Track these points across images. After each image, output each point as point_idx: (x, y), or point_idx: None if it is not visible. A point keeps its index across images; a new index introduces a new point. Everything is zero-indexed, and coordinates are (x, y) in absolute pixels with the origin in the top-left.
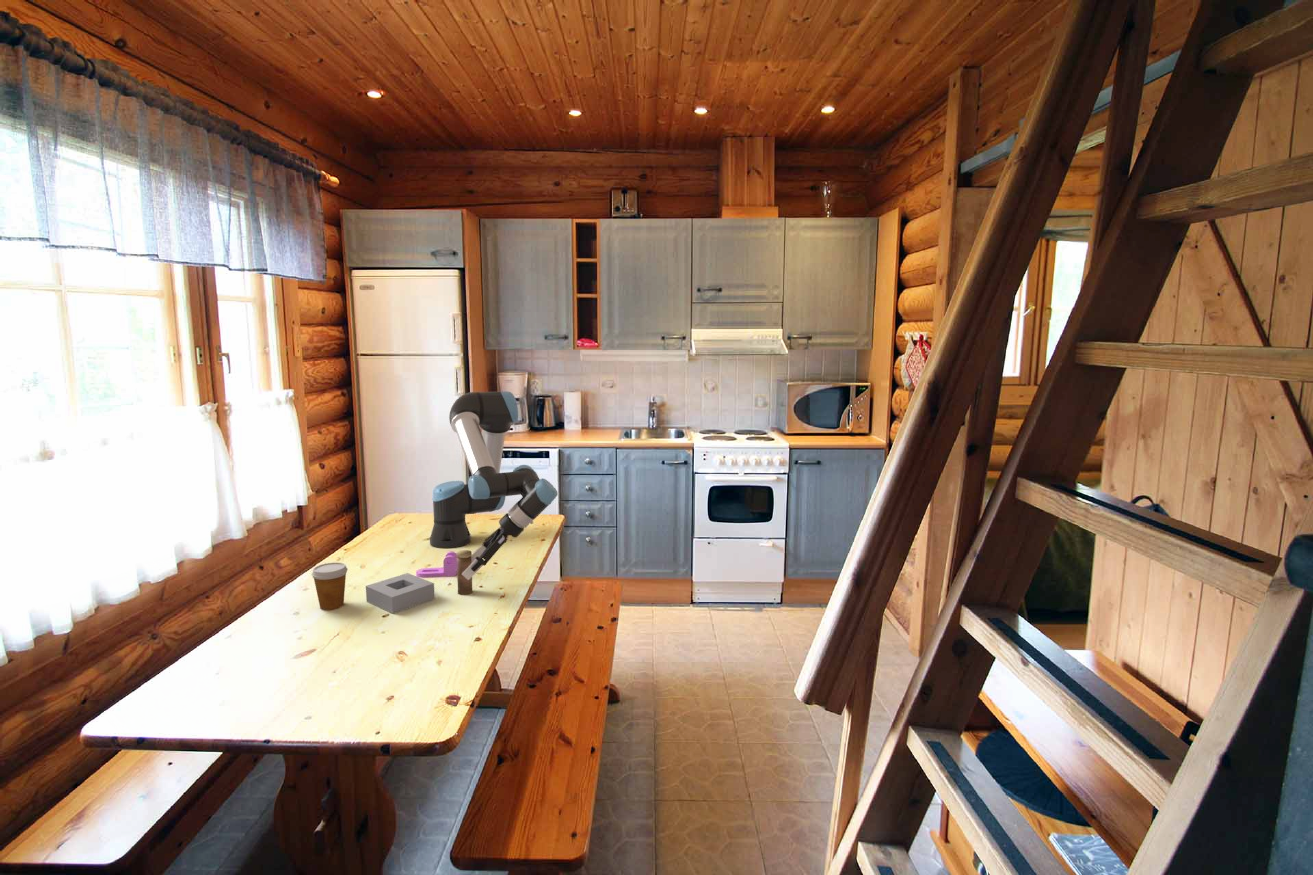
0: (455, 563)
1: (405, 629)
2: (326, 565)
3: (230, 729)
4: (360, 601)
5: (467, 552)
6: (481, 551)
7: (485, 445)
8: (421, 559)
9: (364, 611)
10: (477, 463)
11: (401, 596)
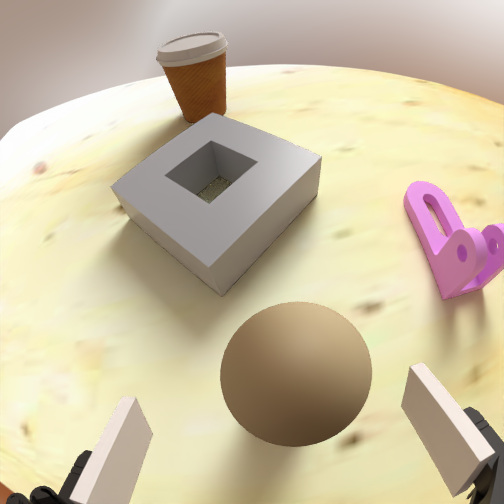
0: (473, 277)
1: (43, 275)
2: (211, 36)
3: None
4: None
5: (299, 408)
6: (448, 454)
7: None
8: (493, 179)
9: None
10: None
11: (128, 204)
